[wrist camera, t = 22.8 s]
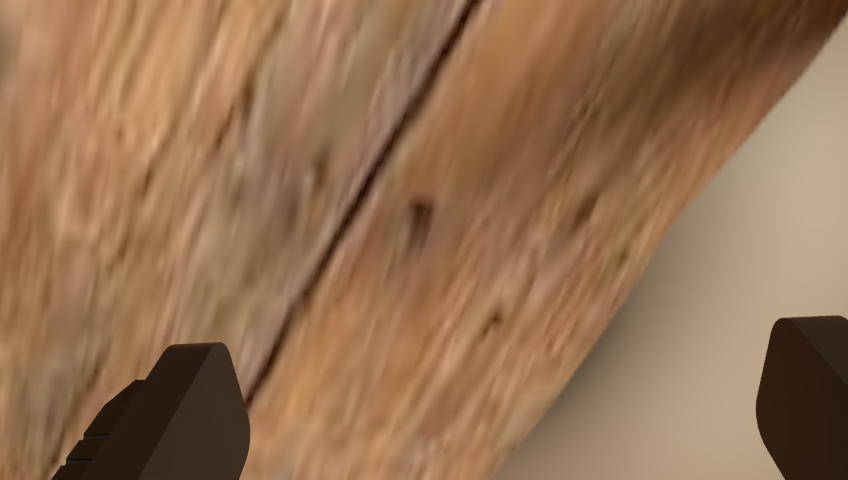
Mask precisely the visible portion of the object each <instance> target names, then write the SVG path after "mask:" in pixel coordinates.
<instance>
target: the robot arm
mask: <svg viewBox="0 0 848 480" xmlns="http://www.w3.org/2000/svg"><path fill="white" fill-rule="evenodd" d="M756 418H757V424H758V428H759V432H760V435H761V438H762V440H763V443H764V445H765V446H766V448H767V450H768V452H769V453H770V455H771V457H772V458H773V460H774V462H775V463H776V465H777V467H778V468H779V470H780V472H781V473H782V475H783V477H784V478H785V480H848V320H847V319H846V318H844V317H842V316H817V317H816V316H814V317H792V318H781V319H779V320H777V321H776V322H775V324H774V326H773V328H772V331H771V335H770V340H769V344H768V349H767V353H766V358H765V363H764V367H763V372H762V377H761V381H760V386H759V391H758V396H757V400H756ZM83 435H84V439H83V440H79V441H78V443H77V444H76V446H75V447H74V448H73V450H72V451H71V452H70V454H69V455H68V457H67V458H66V464H65V466H60V468H59V469H58V471H57V472H56V473H55V475H54V476H53V478H52V479H51V480H239V478H240V475H241V472H242V470H243V467H244V464H245V462H246V459H247V455H248V451H249V444H250V423H249V418H248V414H247V410H246V407H245V404H244V400H243V397H242V393H241V390H240V387H239V383H238V380H237V376H236V373H235V370H234V366H233V363H232V359H231V356H230V353H229V350H228V349H227V347H226V346H225V345H224V344H223V343H221V342H218V343H196V344H175V345H171V346H169V347H168V348H167V349H166V350H165V351H164V352H163V354H162V355H161V357H160V358H159V360H158V361H157V363H156V364H155V366H154V367H153V369H152V370H151V372H150V373H149V375H148V376H147V378H146V379H145V380H135V381H134V382H132V383H131V384H130V385H129V386H127V387H126V388H125V389H124V390H122V391H121V392H120V393H119V394H118V395H116V396H115V397H114V398H113V399H111V400H110V401H109V402H108V403H106V404H105V405H104V406H103V408H102V409H101V411H100V412H99V413H98V415H97V416H96V418H95V419H94V420H93V422H92V423H91V425H90V426H89V427H88V429H87V430H86V432H85V433H84V434H83Z"/></svg>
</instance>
